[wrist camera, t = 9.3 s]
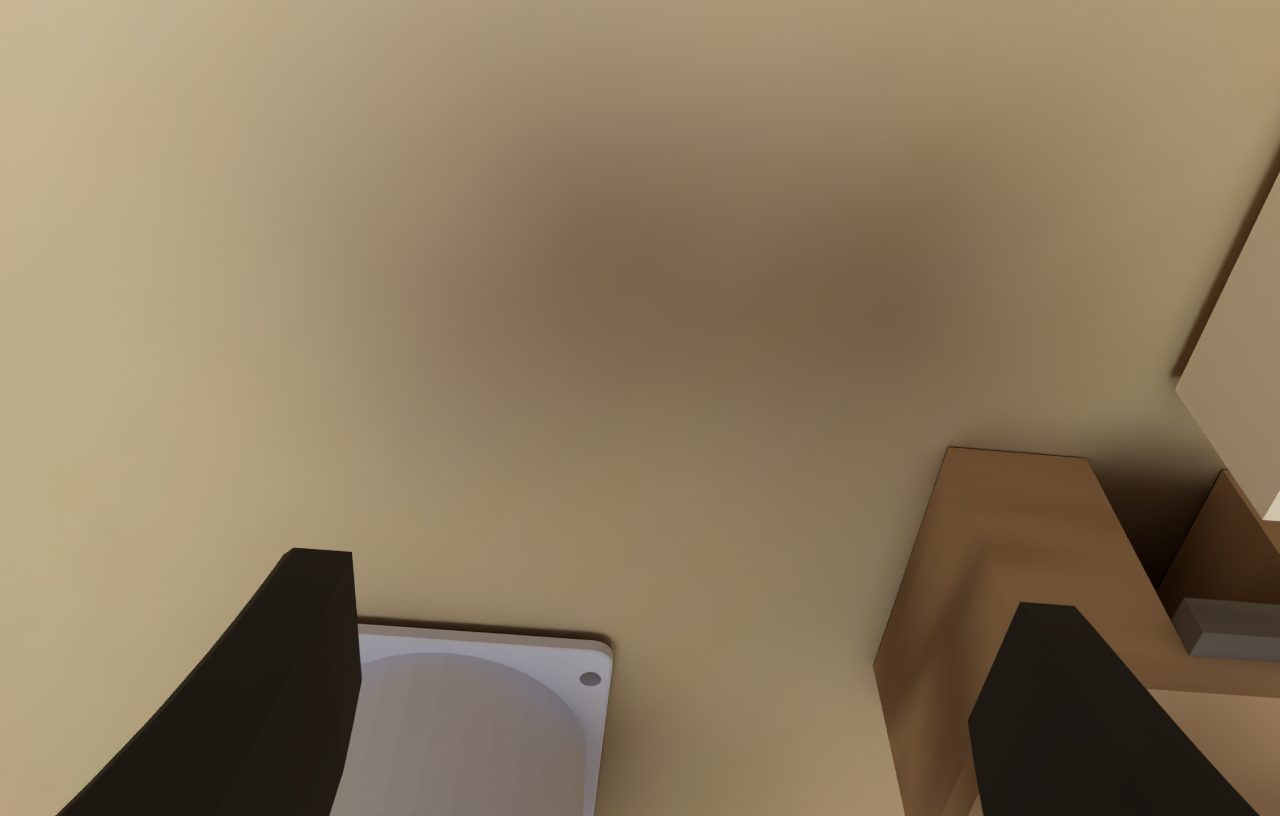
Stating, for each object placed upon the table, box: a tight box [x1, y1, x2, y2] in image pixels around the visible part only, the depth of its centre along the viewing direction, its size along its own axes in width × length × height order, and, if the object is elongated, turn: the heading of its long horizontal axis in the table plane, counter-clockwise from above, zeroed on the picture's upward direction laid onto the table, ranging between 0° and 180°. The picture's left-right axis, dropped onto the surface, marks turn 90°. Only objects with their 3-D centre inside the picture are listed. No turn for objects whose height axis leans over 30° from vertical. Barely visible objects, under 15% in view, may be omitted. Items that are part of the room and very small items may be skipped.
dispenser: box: [873, 447, 1280, 816], centre depth 23 cm, size 8×9×6 cm
